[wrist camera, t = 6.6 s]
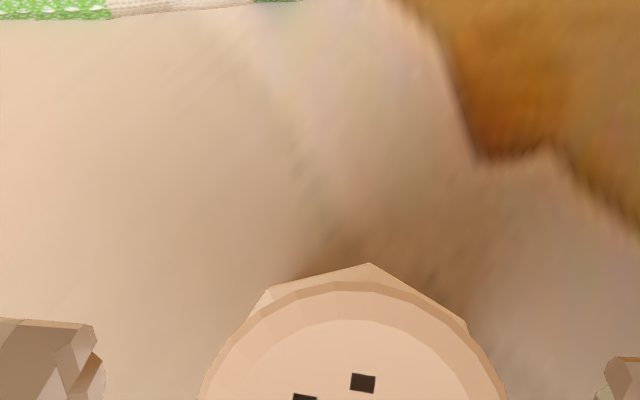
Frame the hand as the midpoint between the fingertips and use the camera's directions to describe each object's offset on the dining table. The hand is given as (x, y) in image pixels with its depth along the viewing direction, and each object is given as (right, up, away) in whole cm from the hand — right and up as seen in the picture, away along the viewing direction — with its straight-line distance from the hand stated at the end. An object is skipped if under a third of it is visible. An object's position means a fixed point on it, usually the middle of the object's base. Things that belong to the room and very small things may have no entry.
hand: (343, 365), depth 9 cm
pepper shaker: (0, -2, +6) cm, 7 cm away
